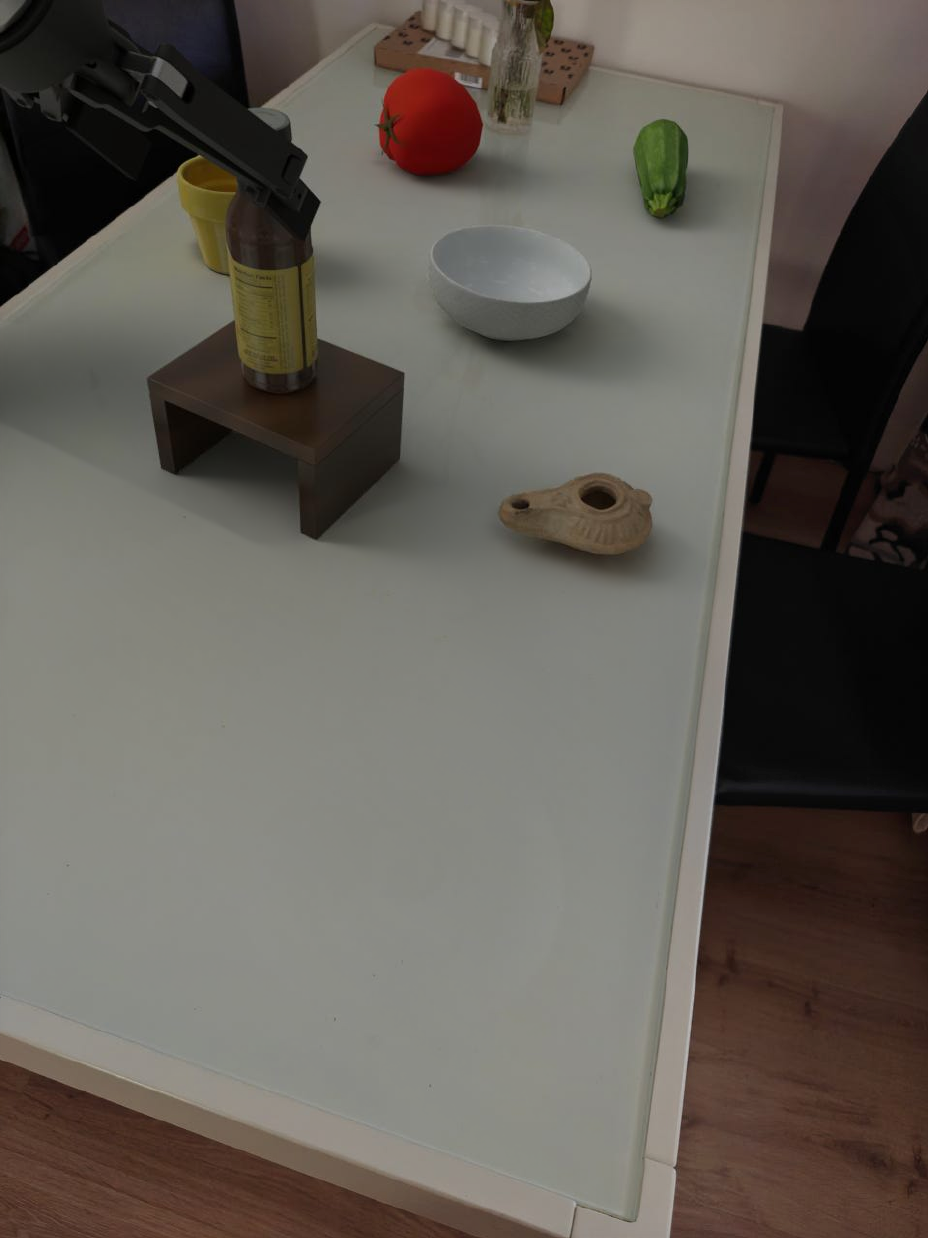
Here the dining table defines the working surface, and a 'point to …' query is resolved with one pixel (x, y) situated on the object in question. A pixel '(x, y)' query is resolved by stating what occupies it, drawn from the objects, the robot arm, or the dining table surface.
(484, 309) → the cereal bowl
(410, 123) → the tomato
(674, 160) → the vegetable
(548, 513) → the pottery oil lamp
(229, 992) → the dining table surface
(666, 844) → the dining table surface
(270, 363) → the sauce bottle
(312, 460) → the shelf
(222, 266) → the flower pot
